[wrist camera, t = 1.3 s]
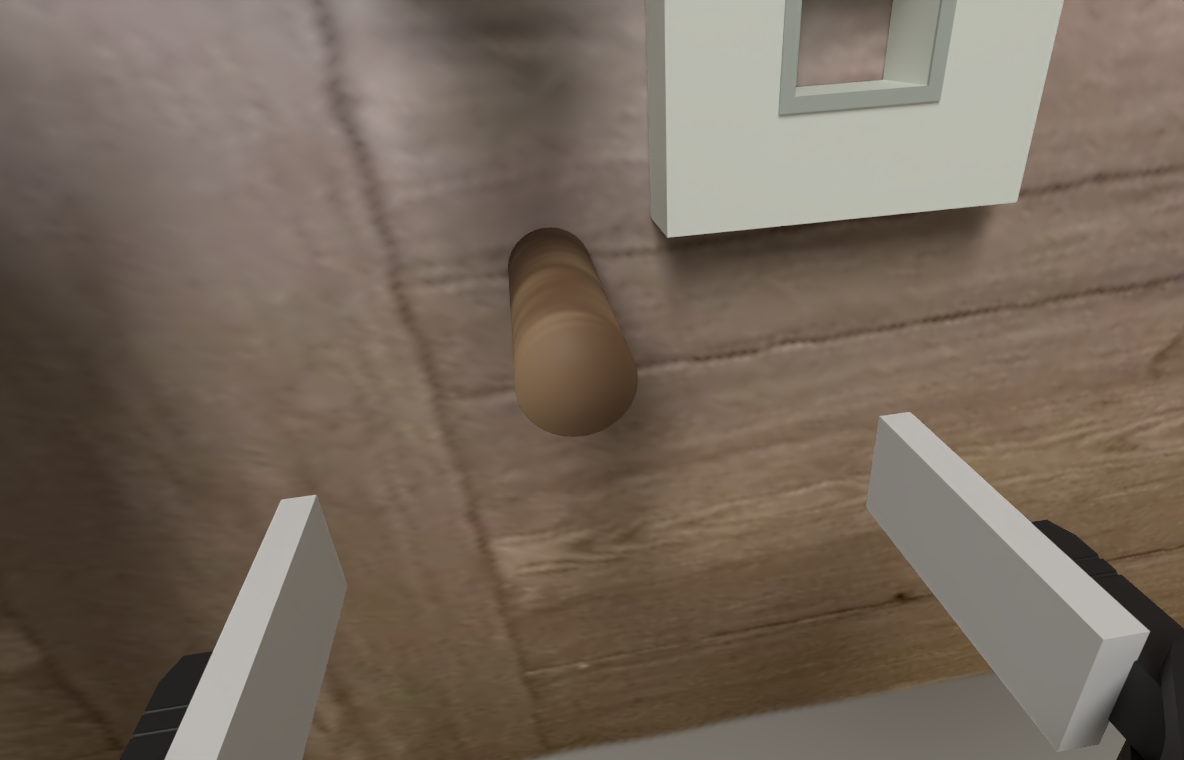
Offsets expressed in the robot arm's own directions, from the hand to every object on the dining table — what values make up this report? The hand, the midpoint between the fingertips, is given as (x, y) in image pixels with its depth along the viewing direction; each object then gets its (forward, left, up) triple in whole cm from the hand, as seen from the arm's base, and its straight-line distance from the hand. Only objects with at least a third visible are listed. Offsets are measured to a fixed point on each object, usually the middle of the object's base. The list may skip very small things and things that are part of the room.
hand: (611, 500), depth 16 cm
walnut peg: (0, 0, -19) cm, 19 cm away
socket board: (+13, +10, -19) cm, 25 cm away
